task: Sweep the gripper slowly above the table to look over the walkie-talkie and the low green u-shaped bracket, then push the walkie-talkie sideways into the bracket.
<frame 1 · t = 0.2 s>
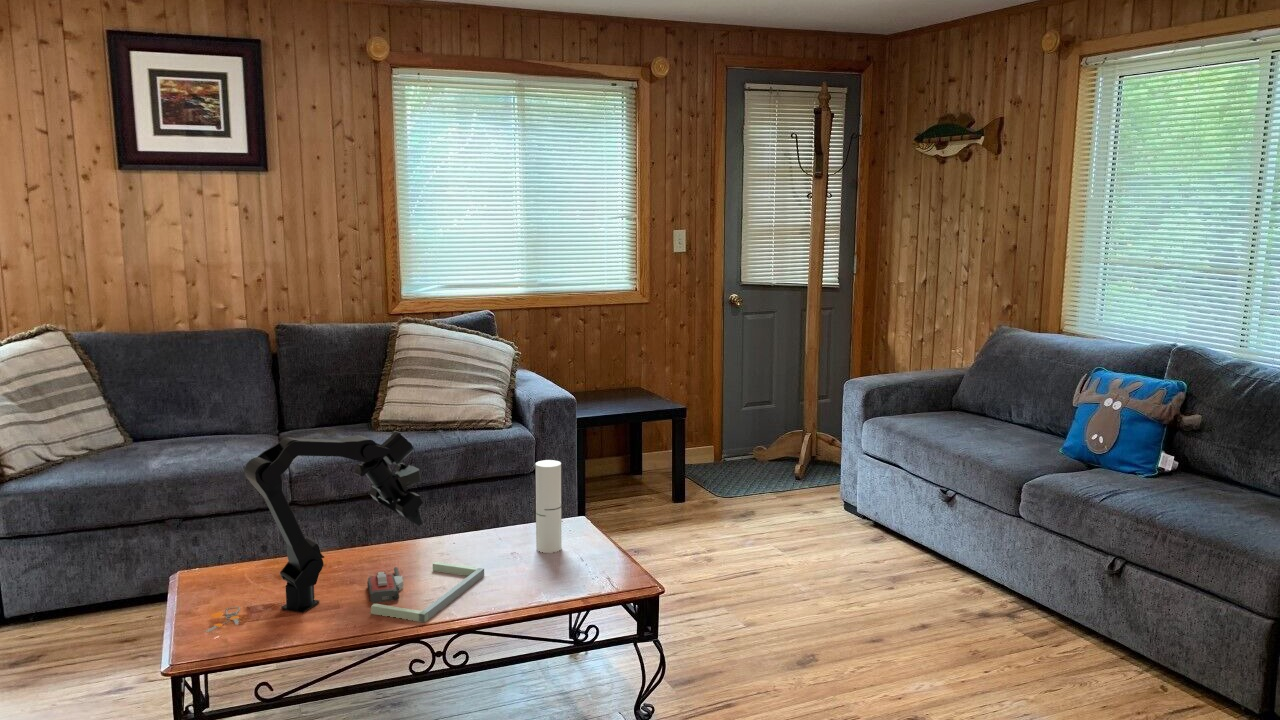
hand: (412, 519, 251), 15 cm above the table, tool tilted 30°, fingers open, 9 cm apart
cylindrical container: (548, 549, 272), on the table
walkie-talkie: (385, 589, 244), on the table
key chain: (225, 621, 225), on the table
green u-shaped bracket: (430, 593, 240), on the table
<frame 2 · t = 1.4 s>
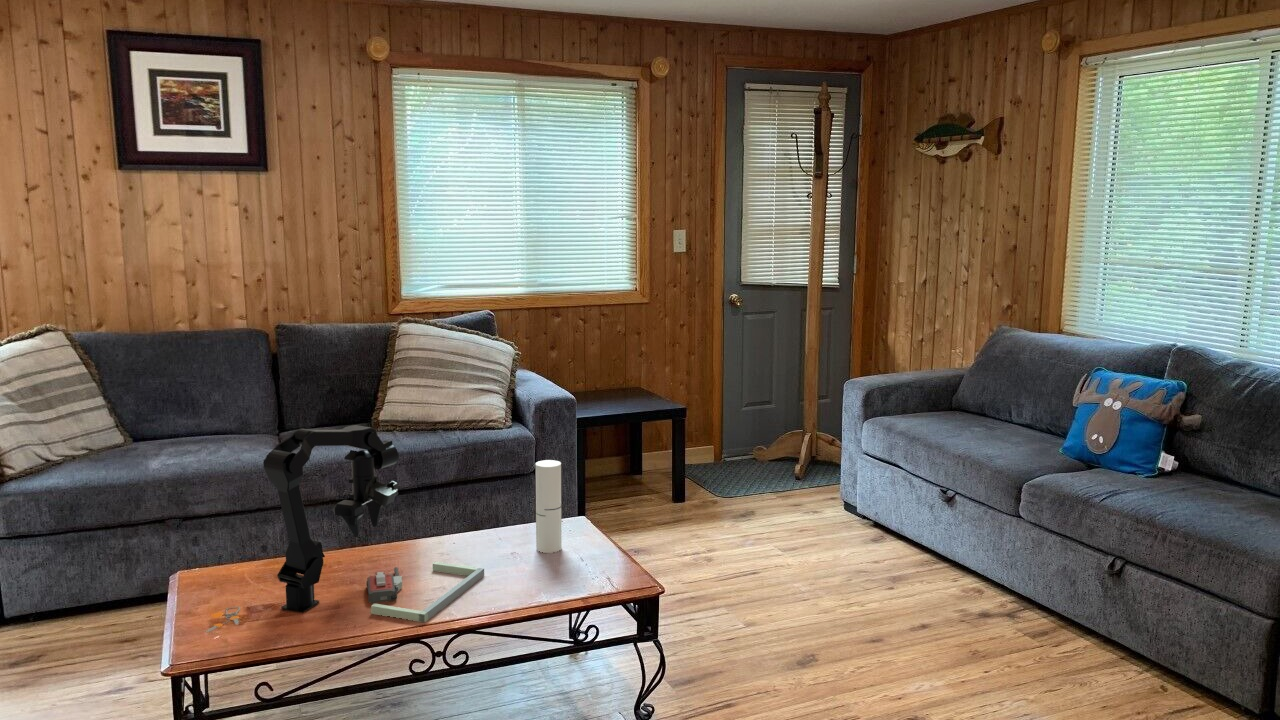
hand: (365, 531, 250), 12 cm above the table, tool pointing down, fingers open, 8 cm apart
nothing on the table moved.
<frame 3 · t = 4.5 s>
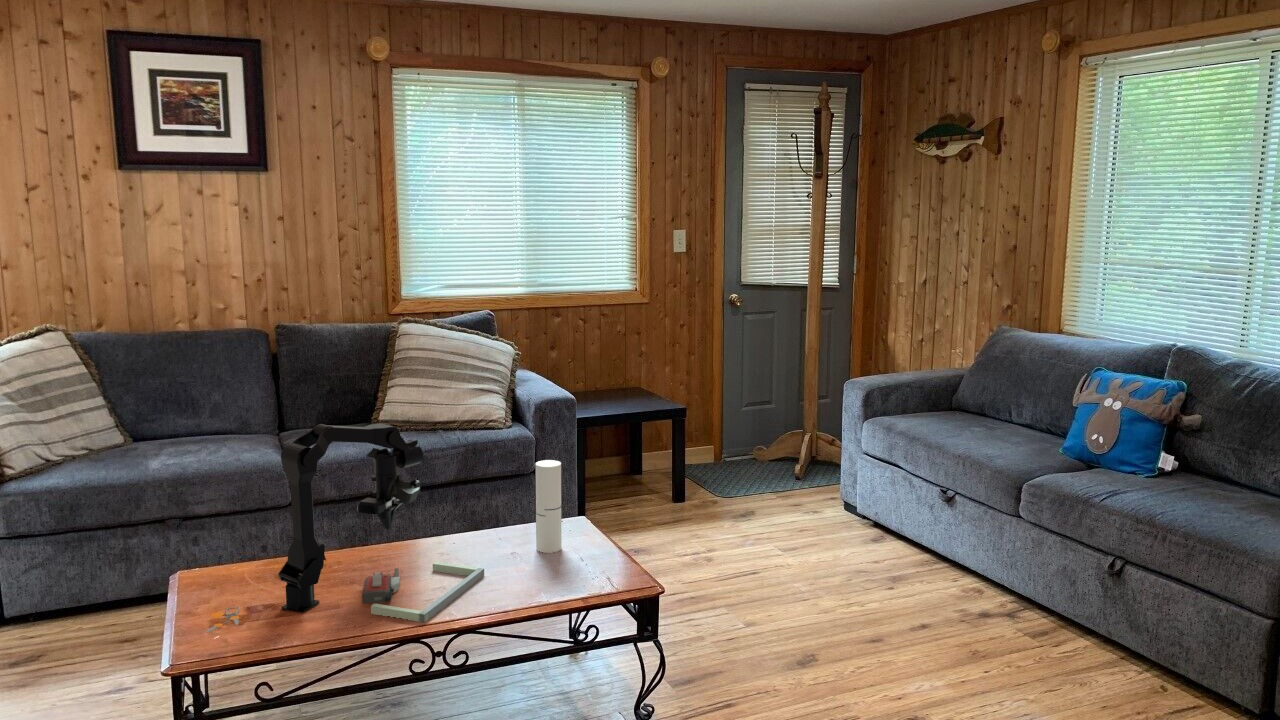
hand: (388, 529, 252), 12 cm above the table, tool pointing down, fingers closed
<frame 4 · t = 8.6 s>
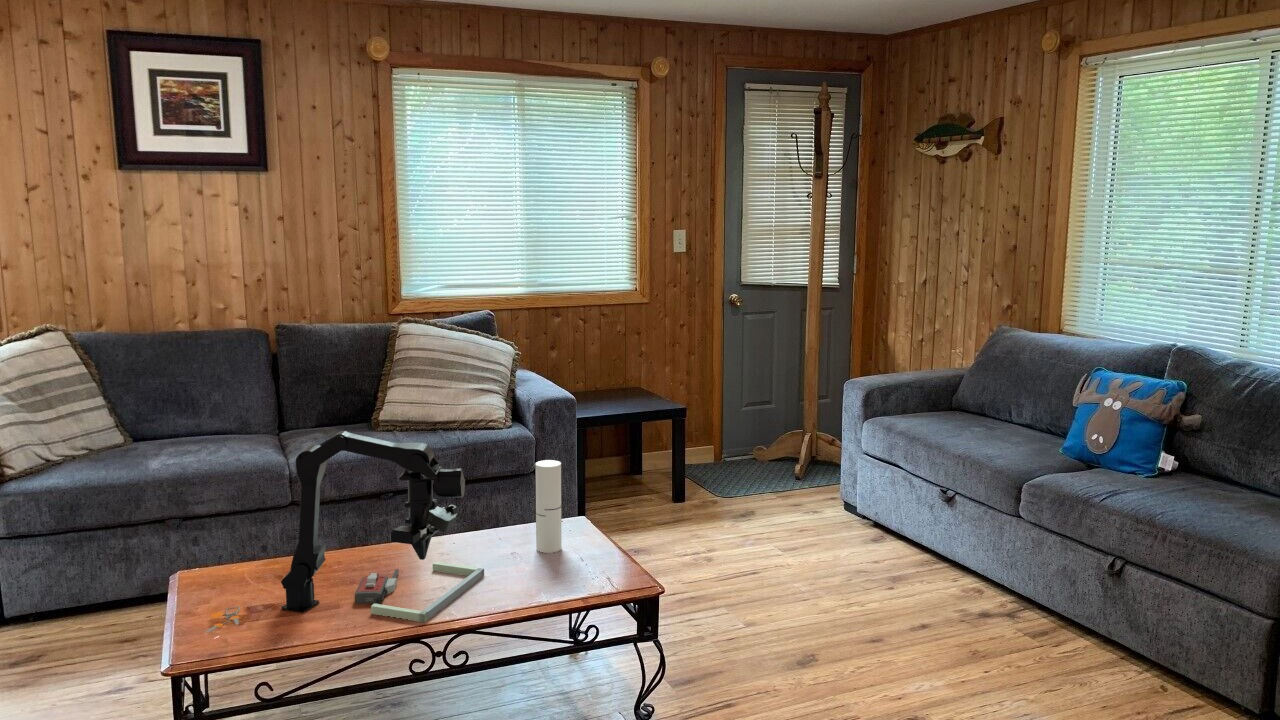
hand: (422, 559, 231), 12 cm above the table, tool pointing down, fingers closed
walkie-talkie: (378, 591, 243), on the table
everything else where it was.
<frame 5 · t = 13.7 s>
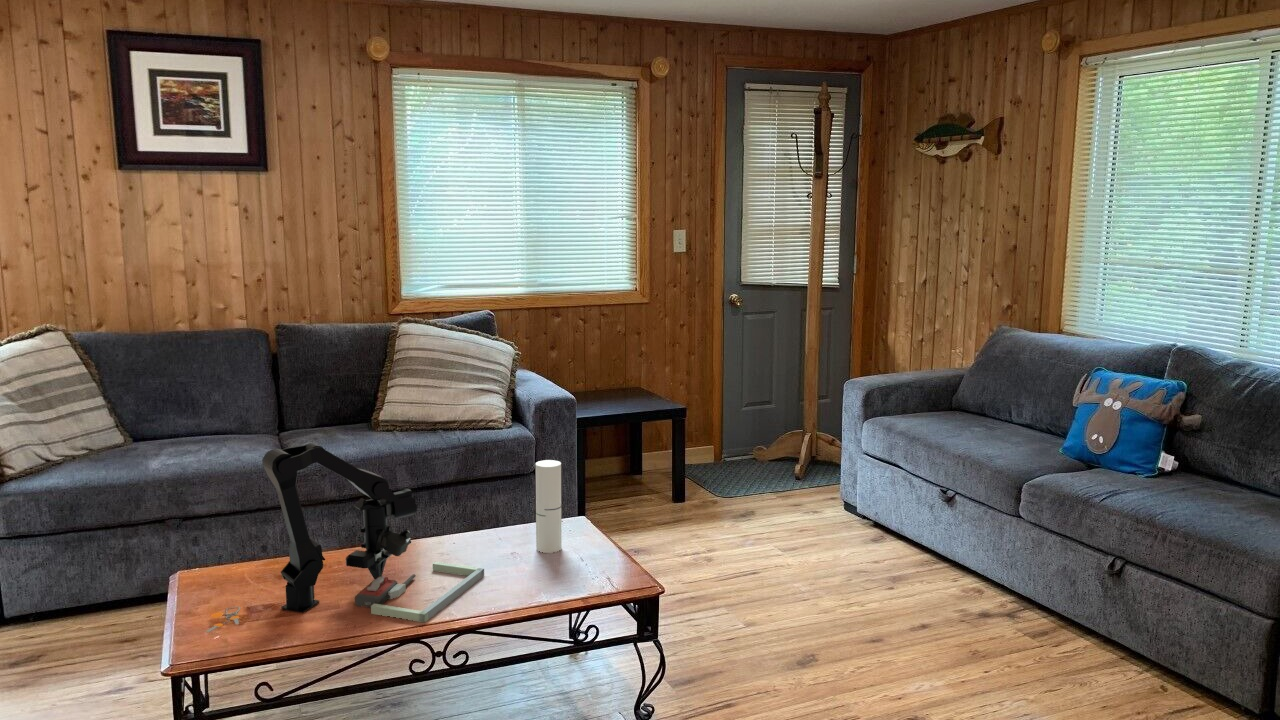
hand: (378, 581, 245), 1 cm above the table, tool pointing down, fingers closed
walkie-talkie: (386, 595, 241), on the table
everything else where it was.
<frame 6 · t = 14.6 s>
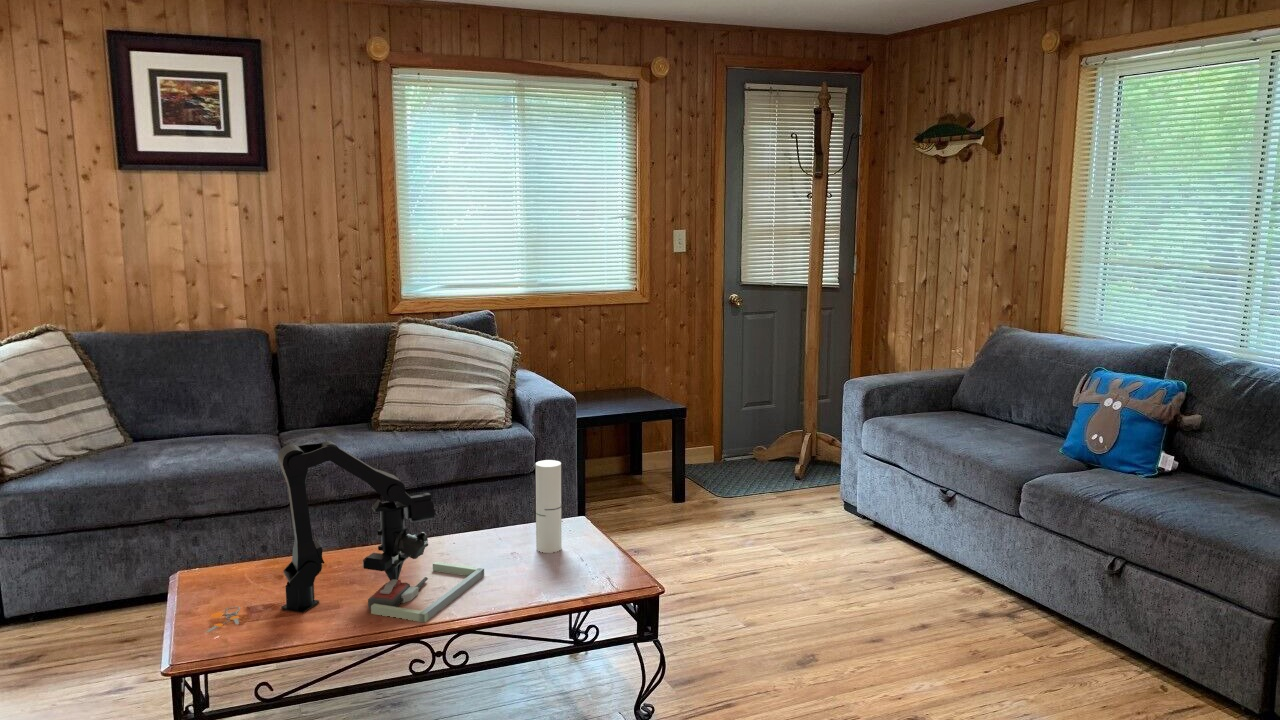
hand: (394, 583, 244), 1 cm above the table, tool pointing down, fingers closed
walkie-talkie: (398, 598, 239), on the table, touching gripper
everything else where it was.
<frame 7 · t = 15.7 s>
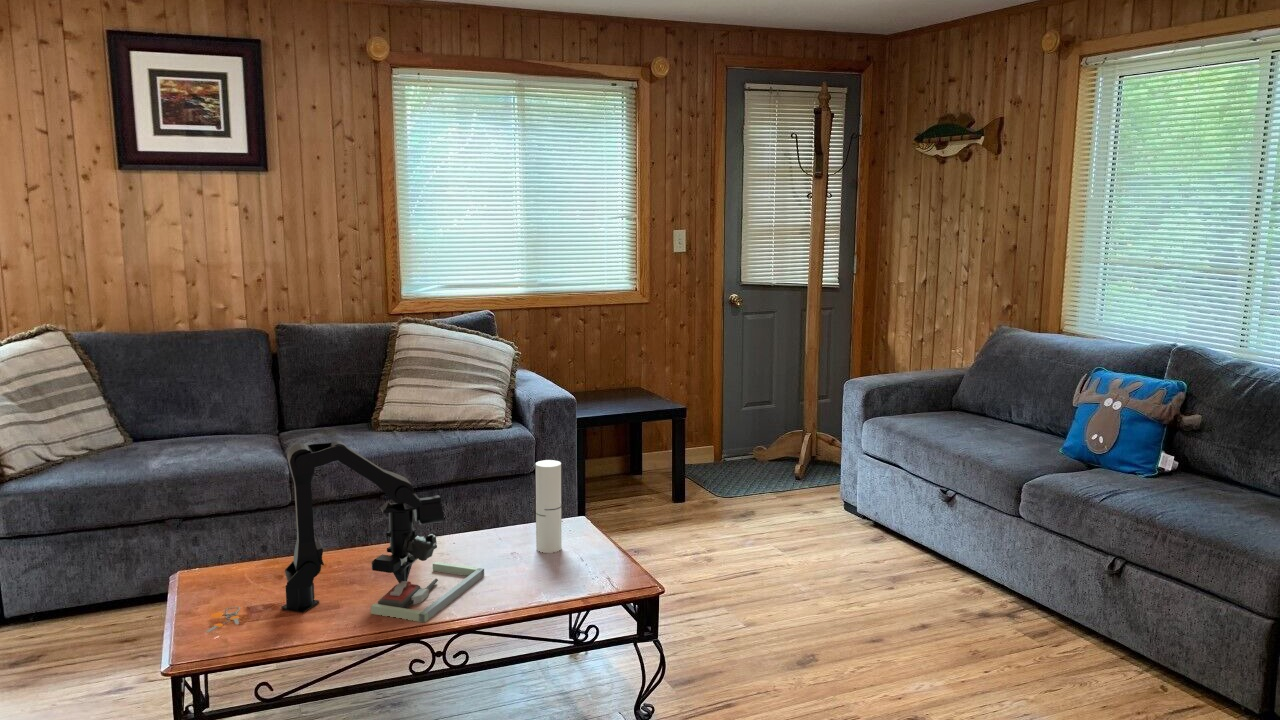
hand: (403, 585, 243), 1 cm above the table, tool pointing down, fingers closed
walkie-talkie: (408, 600, 238), on the table
everything else where it was.
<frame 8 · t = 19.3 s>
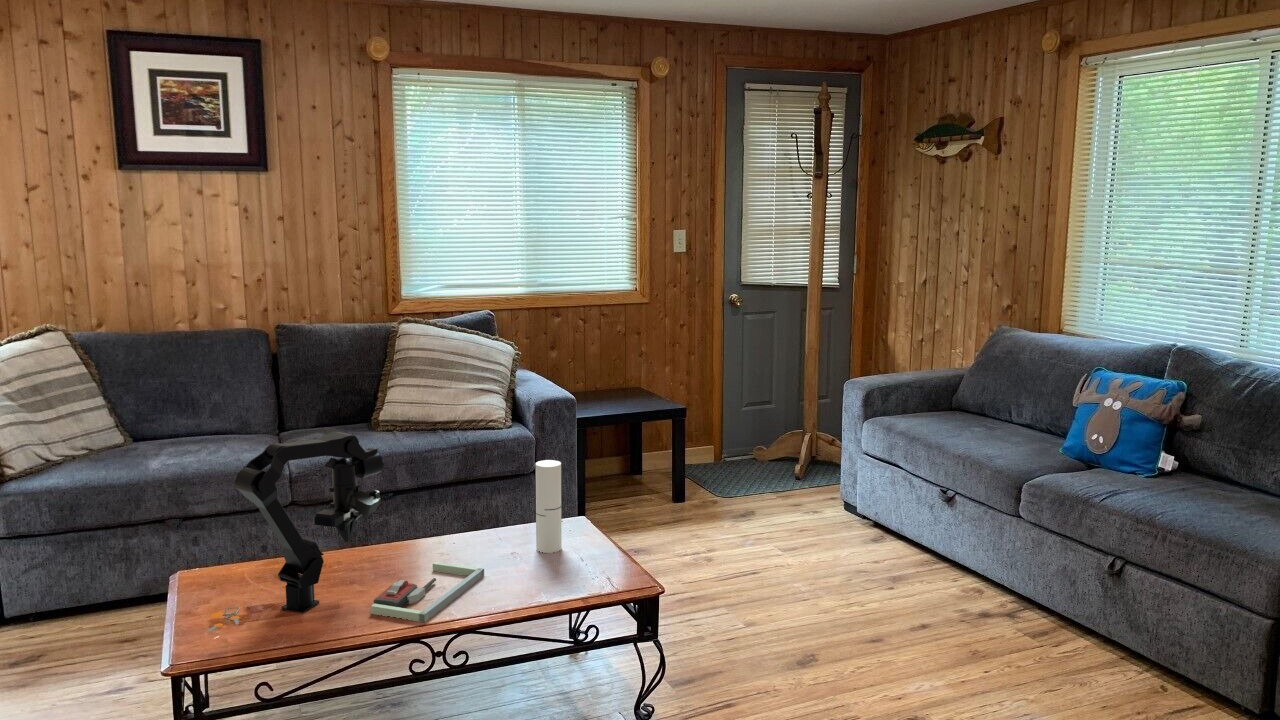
hand: (347, 541, 242), 12 cm above the table, tool pointing down, fingers closed
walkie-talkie: (405, 599, 239), on the table
everything else where it was.
at the end: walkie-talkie inside the target area (5.4 cm from its centre), on the table; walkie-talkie moved 8.7 cm from its start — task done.
